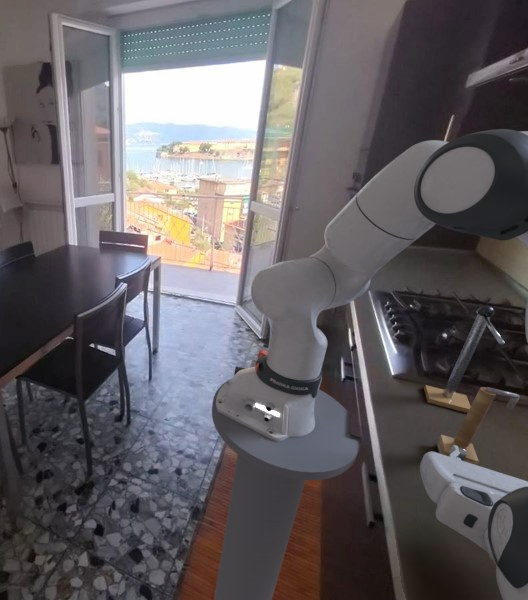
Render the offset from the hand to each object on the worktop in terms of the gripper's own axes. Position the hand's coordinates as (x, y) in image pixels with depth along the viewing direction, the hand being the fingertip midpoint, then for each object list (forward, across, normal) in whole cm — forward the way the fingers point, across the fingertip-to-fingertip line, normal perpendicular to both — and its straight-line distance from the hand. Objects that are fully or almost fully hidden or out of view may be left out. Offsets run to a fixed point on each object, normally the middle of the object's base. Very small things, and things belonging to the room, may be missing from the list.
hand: (494, 460), depth 58 cm
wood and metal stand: (+29, -2, +11) cm, 31 cm away
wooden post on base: (+12, 0, +11) cm, 16 cm away
